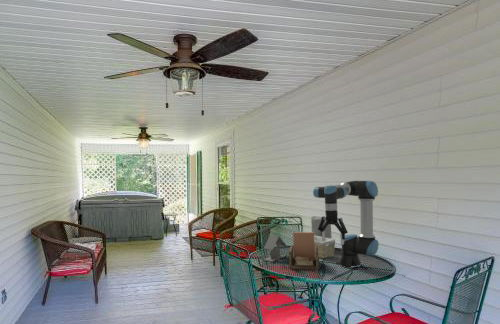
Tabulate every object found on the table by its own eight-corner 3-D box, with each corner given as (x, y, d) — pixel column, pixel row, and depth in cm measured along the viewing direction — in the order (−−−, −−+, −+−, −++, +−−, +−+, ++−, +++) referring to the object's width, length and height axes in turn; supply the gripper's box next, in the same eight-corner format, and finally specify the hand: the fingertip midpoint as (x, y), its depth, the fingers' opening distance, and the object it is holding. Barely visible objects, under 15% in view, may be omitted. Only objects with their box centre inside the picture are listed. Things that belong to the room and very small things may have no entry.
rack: (291, 263, 262) (290, 245, 262) (318, 263, 258) (318, 246, 258) (289, 270, 244) (288, 251, 245) (318, 271, 240) (317, 252, 240)
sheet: (294, 262, 259) (293, 232, 259) (315, 263, 255) (313, 232, 256) (294, 263, 256) (293, 232, 257) (315, 264, 253) (313, 232, 253)
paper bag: (305, 248, 306) (304, 218, 306) (315, 245, 316) (314, 216, 316) (322, 251, 292) (321, 220, 292) (332, 248, 302) (331, 217, 302)
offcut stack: (295, 265, 251) (294, 256, 251) (313, 266, 248) (313, 256, 248) (294, 268, 245) (294, 258, 245) (313, 268, 242) (313, 259, 242)
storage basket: (302, 254, 285) (301, 237, 285) (315, 251, 295) (314, 234, 295) (323, 260, 266) (322, 242, 266) (336, 256, 275) (336, 239, 275)
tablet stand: (273, 263, 265) (272, 238, 265) (264, 261, 271) (263, 236, 271) (286, 257, 278) (285, 234, 278) (277, 255, 285) (276, 232, 285)
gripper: (311, 209, 216) (313, 241, 216) (346, 212, 198) (347, 247, 198) (318, 207, 221) (319, 239, 221) (352, 210, 203) (353, 244, 204)
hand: (332, 243), depth 210 cm, fingers open, 13 cm apart
